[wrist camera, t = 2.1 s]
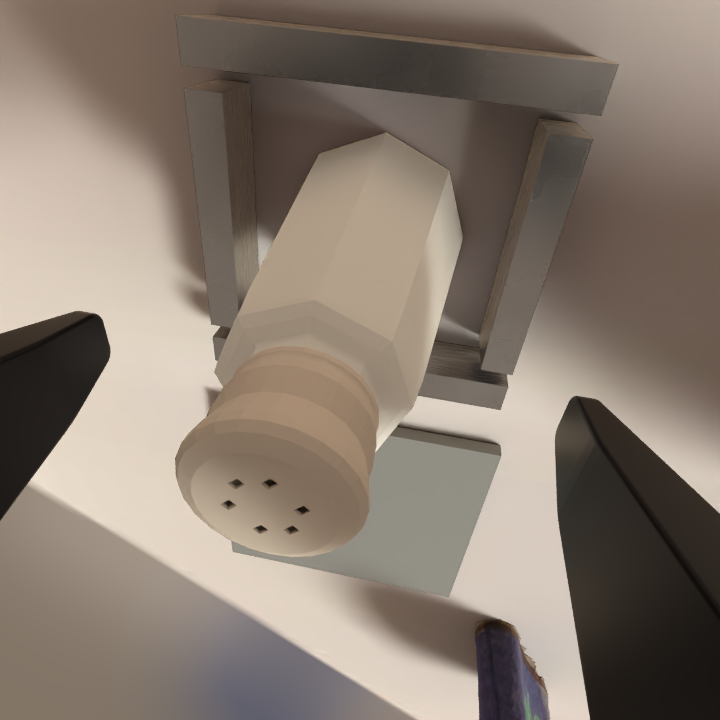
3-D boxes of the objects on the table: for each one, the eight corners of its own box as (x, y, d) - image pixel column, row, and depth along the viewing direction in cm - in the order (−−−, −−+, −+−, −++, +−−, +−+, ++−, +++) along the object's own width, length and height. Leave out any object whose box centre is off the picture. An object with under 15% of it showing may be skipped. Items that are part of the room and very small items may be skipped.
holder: (598, 56, 12) (618, 64, 10) (497, 374, 18) (500, 410, 16) (211, 14, 13) (175, 15, 11) (236, 330, 19) (215, 360, 17)
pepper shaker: (260, 206, 16) (6, 457, 7) (392, 86, 13) (250, 243, 4) (366, 325, 18) (272, 637, 9) (499, 240, 15) (549, 564, 6)
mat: (500, 445, 20) (501, 456, 20) (448, 586, 27) (448, 597, 26) (219, 394, 21) (213, 403, 21) (236, 542, 28) (232, 551, 27)
